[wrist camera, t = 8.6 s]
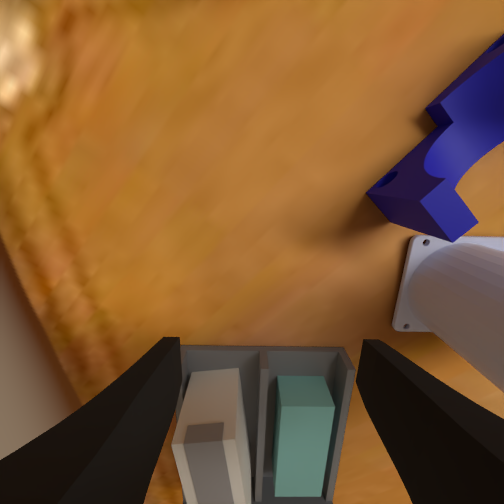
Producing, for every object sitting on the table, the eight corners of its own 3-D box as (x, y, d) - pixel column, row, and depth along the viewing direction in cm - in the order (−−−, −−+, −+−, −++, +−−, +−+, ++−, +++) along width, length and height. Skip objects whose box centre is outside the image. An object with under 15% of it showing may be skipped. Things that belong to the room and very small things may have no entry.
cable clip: (506, 29, 15) (662, -57, 10) (540, 90, 16) (700, 44, 10) (351, 177, 18) (401, 178, 12) (389, 221, 19) (453, 242, 13)
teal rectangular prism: (323, 376, 22) (335, 406, 19) (312, 459, 25) (320, 496, 22) (277, 375, 22) (281, 406, 19) (271, 458, 25) (274, 496, 22)
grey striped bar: (238, 366, 21) (235, 439, 15) (250, 453, 24) (251, 541, 18) (191, 371, 21) (170, 445, 16) (209, 456, 24) (197, 545, 18)
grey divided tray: (343, 347, 22) (357, 373, 19) (323, 475, 26) (332, 512, 23) (181, 345, 21) (170, 371, 18) (189, 475, 26) (182, 512, 23)
